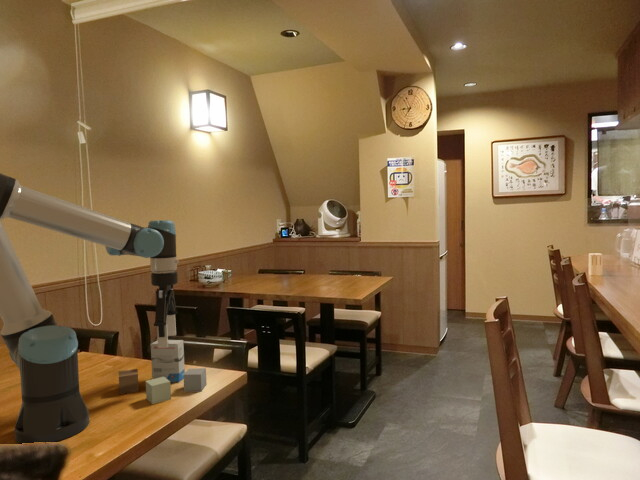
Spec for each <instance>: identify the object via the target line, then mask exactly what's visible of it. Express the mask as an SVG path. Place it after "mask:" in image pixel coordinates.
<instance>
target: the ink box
mask: <svg viewBox="0 0 640 480" xmlns="http://www.w3.org/2000/svg"><path fill="white" fill-rule="evenodd" d="M150 358H151V359H150V360H151V363H150V364H151V380H152V379H156V378H160V377H165V378H166V379H168V380H169V381H170V383H180V382H181V381H182V380H184V379H183V374H184V373H185V372H186V371H185V350H184V340H183V339H168V348H158V339H157V340H156V341H153V342H152V343H150Z"/></svg>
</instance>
